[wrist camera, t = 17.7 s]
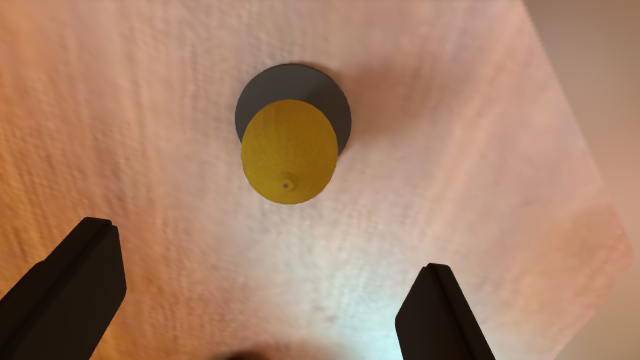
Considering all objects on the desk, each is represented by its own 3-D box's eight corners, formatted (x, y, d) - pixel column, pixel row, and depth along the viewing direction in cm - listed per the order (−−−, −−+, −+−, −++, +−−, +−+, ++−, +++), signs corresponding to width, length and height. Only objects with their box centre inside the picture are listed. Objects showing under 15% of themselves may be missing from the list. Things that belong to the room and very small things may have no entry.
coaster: (241, 51, 20) (240, 52, 20) (364, 77, 21) (365, 79, 21) (232, 162, 24) (230, 165, 24) (335, 180, 25) (336, 183, 25)
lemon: (325, 77, 21) (334, 122, 14) (338, 153, 23) (350, 222, 17) (242, 93, 21) (210, 144, 14) (264, 166, 24) (246, 239, 17)
